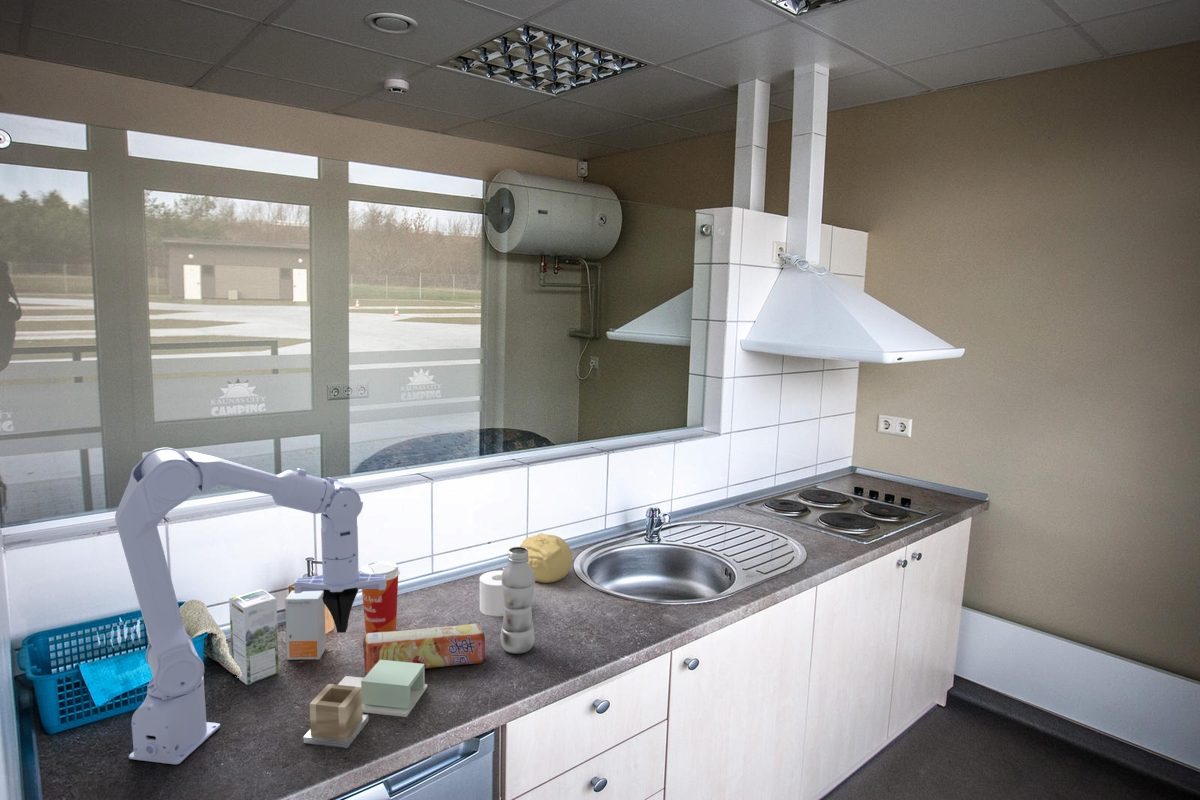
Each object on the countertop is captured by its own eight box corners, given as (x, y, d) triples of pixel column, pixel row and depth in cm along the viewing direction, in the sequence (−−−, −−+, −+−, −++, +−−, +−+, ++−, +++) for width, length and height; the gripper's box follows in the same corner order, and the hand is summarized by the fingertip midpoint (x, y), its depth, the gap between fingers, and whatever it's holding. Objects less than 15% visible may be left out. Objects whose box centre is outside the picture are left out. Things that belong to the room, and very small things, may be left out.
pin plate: (347, 748, 107) (346, 726, 107) (303, 742, 108) (302, 721, 108) (368, 720, 114) (368, 700, 114) (327, 716, 115) (326, 695, 115)
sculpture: (512, 578, 172) (512, 534, 170) (547, 564, 181) (548, 523, 180) (546, 591, 165) (546, 546, 163) (581, 577, 174) (582, 534, 172)
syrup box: (264, 662, 131) (260, 587, 129) (280, 674, 127) (276, 596, 125) (232, 674, 127) (227, 597, 124) (247, 687, 123) (243, 607, 121)
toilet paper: (509, 592, 164) (509, 563, 163) (521, 613, 153) (521, 582, 152) (473, 597, 161) (473, 567, 160) (483, 618, 151) (483, 587, 150)
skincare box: (286, 661, 132) (283, 599, 130) (293, 649, 136) (291, 589, 134) (320, 660, 132) (318, 598, 130) (326, 648, 136) (324, 589, 135)
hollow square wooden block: (345, 738, 108) (344, 707, 107) (310, 734, 109) (309, 703, 108) (362, 716, 114) (361, 687, 113) (329, 713, 114) (328, 683, 114)
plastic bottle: (519, 638, 143) (520, 541, 140) (541, 650, 138) (543, 551, 135) (493, 648, 138) (493, 549, 135) (514, 662, 133) (515, 559, 130)
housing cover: (408, 708, 116) (408, 685, 116) (361, 703, 117) (361, 681, 117) (424, 685, 123) (424, 663, 123) (380, 681, 124) (380, 659, 124)
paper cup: (353, 634, 142) (351, 566, 140) (388, 621, 148) (386, 557, 146) (373, 648, 137) (372, 578, 135) (409, 634, 143) (407, 567, 141)
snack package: (480, 650, 137) (480, 616, 137) (486, 666, 131) (486, 631, 130) (363, 664, 131) (363, 628, 130) (363, 681, 124) (363, 644, 124)
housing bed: (406, 717, 115) (406, 703, 115) (319, 707, 117) (318, 694, 117) (427, 686, 124) (427, 674, 124) (345, 678, 126) (345, 666, 126)
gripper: (287, 564, 115) (291, 643, 117) (381, 561, 117) (383, 639, 119) (299, 548, 122) (302, 623, 124) (387, 545, 124) (388, 619, 126)
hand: (342, 630), depth 122 cm, fingers closed
